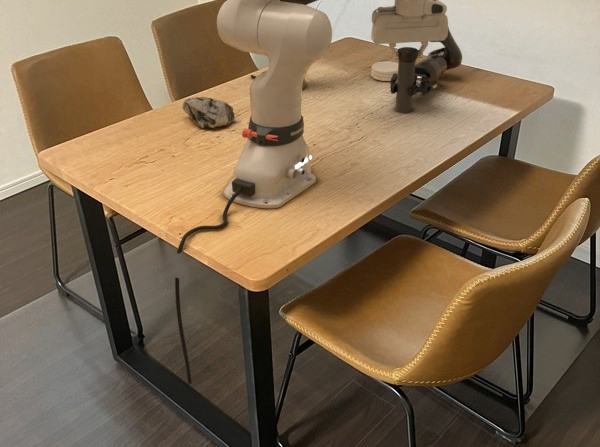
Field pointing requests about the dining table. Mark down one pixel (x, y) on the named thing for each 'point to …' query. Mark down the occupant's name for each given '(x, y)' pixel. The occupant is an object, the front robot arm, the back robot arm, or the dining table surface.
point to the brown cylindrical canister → (404, 86)
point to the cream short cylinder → (384, 70)
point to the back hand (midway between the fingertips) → (401, 91)
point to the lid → (408, 53)
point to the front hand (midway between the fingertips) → (407, 58)
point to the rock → (208, 112)
